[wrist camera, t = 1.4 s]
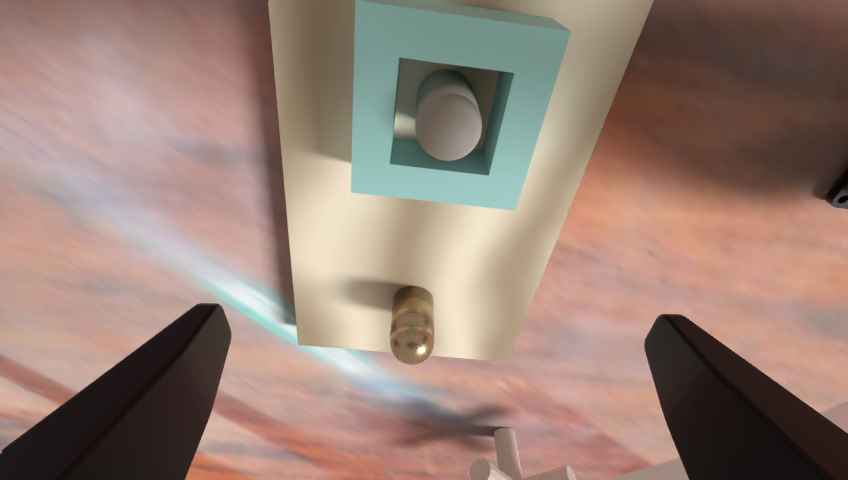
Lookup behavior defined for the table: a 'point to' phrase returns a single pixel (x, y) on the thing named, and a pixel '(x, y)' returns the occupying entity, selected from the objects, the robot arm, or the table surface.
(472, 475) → the pipe connector
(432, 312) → the bronze post
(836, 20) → the table surface
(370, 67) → the teal collar
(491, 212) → the birch stand board
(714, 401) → the robot arm
